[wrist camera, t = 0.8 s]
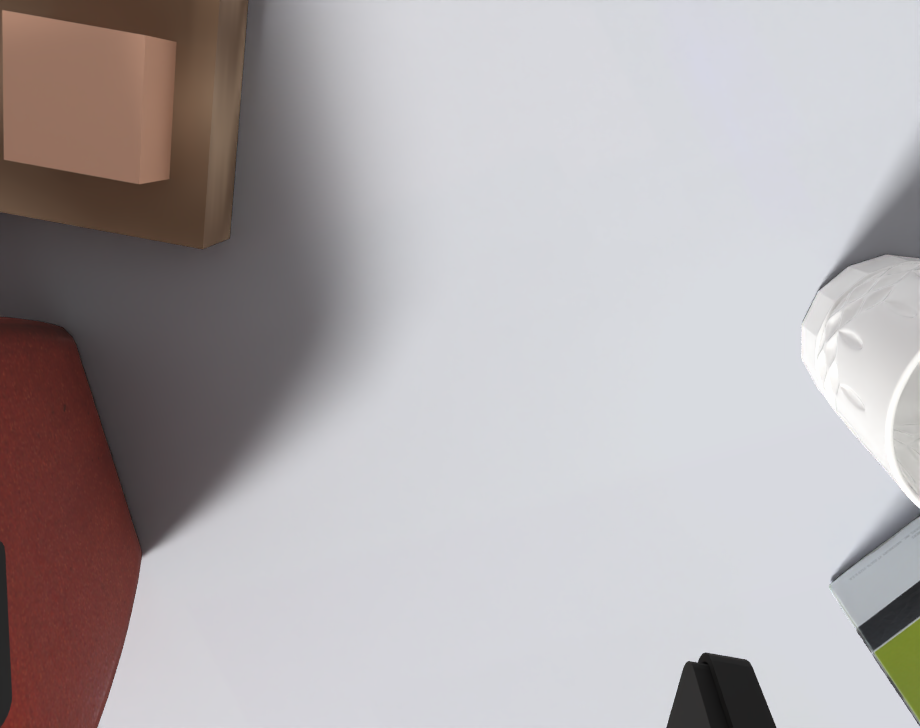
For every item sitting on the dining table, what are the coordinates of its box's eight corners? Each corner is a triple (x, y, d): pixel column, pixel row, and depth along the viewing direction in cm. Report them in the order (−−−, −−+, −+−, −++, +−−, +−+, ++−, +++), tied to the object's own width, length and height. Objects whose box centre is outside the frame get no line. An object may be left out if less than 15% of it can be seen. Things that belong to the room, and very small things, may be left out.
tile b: (44, 18, 29) (2, 10, 27) (176, 42, 29) (145, 35, 27) (44, 156, 31) (3, 159, 28) (169, 178, 31) (139, 184, 28)
